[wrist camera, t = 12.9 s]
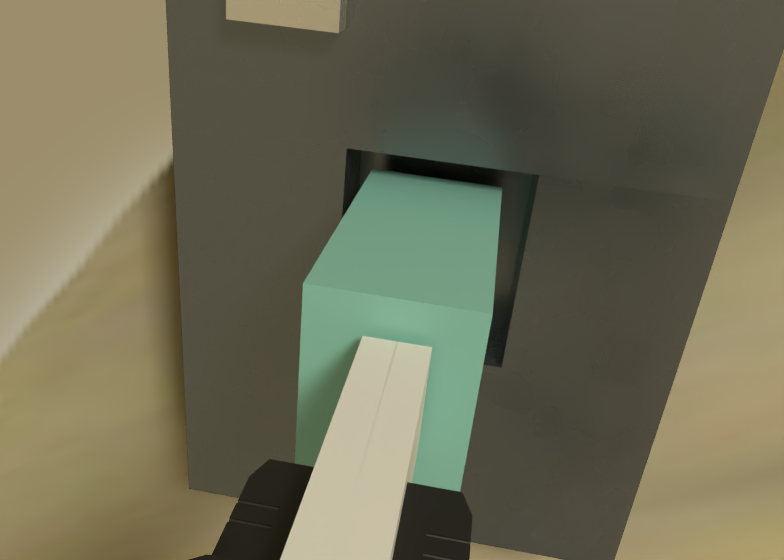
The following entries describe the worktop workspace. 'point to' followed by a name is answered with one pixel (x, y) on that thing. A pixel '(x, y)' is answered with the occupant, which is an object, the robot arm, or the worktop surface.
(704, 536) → the worktop surface
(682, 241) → the socket
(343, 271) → the plug
